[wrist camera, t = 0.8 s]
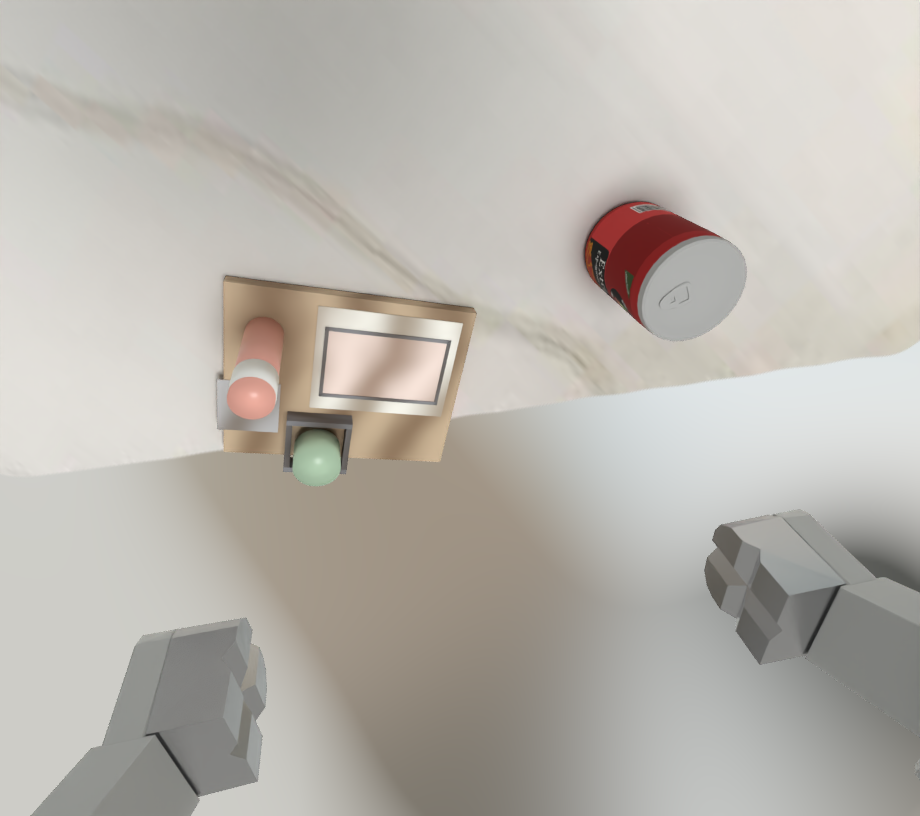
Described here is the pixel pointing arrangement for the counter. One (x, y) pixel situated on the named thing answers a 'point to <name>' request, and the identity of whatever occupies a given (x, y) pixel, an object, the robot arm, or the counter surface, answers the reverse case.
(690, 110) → the counter surface
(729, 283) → the canned food
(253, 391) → the marker
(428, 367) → the picture board
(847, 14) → the counter surface
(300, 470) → the button
